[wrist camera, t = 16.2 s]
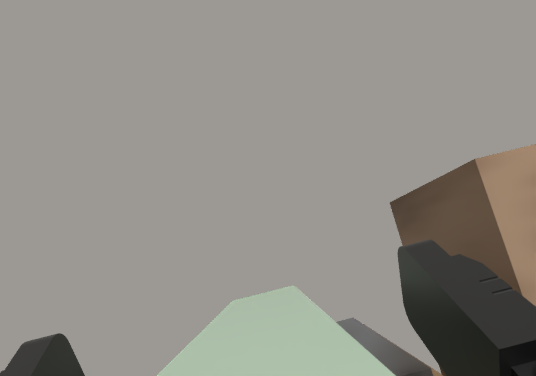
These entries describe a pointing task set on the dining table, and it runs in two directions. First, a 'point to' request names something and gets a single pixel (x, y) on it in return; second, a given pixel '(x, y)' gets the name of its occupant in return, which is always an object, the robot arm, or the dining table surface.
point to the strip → (274, 342)
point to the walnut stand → (480, 215)
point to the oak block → (386, 351)
